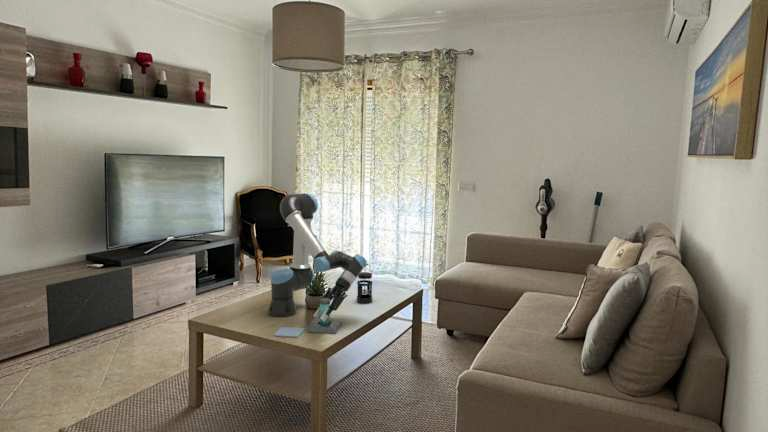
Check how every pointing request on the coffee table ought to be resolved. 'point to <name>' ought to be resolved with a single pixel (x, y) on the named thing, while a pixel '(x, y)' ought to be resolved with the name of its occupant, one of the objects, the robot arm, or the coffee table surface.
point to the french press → (364, 295)
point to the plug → (323, 306)
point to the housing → (324, 326)
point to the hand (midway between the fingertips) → (318, 318)
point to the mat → (289, 332)
